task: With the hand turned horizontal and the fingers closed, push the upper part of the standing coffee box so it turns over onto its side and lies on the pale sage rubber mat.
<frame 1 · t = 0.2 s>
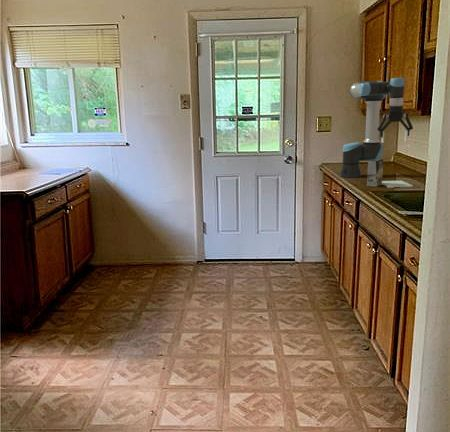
hand: (394, 142, 271), 27 cm above the countertop, tool pointing down, fingers open, 13 cm apart
coffee box: (374, 185, 286), on the countertop
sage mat: (395, 184, 285), on the countertop
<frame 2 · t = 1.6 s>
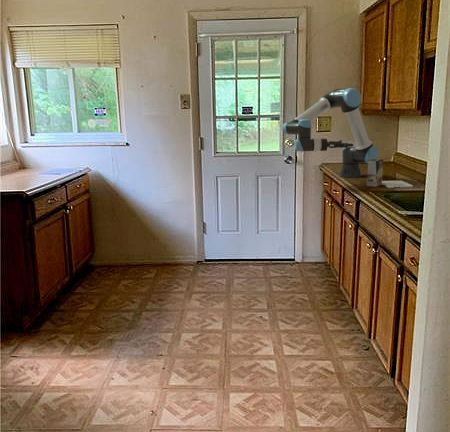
hand: (355, 143, 280), 26 cm above the countertop, tool horizontal, fingers open, 12 cm apart
nothing on the countertop moved.
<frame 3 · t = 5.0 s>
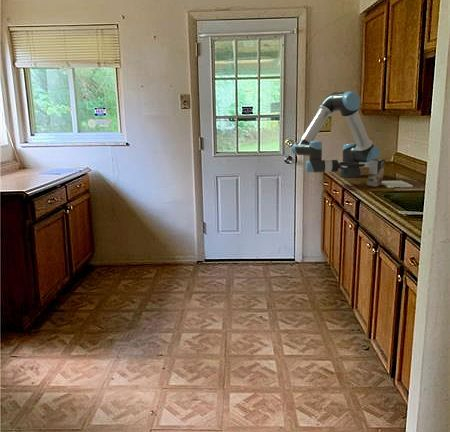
hand: (369, 164, 282), 13 cm above the countertop, tool horizontal, fingers closed
coffee box: (374, 185, 286), on the countertop, touching gripper
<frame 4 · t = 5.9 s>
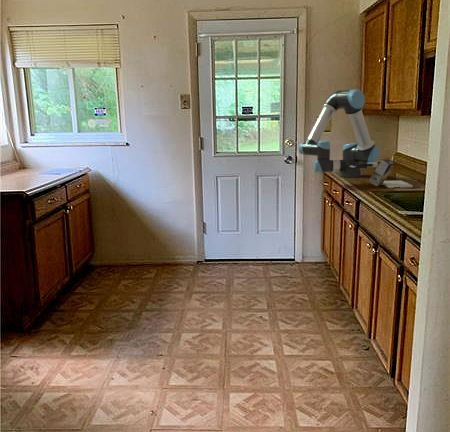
hand: (377, 164, 282), 13 cm above the countertop, tool horizontal, fingers closed
coffee box: (375, 183, 285), point 1 cm above the countertop
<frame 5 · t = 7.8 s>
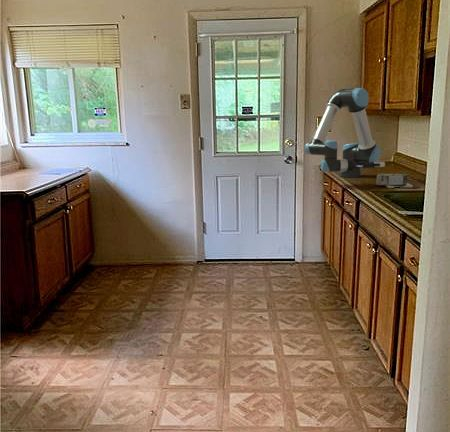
hand: (384, 164, 282), 13 cm above the countertop, tool horizontal, fingers closed
coffee box: (378, 178, 284), point 4 cm above the countertop, touching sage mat
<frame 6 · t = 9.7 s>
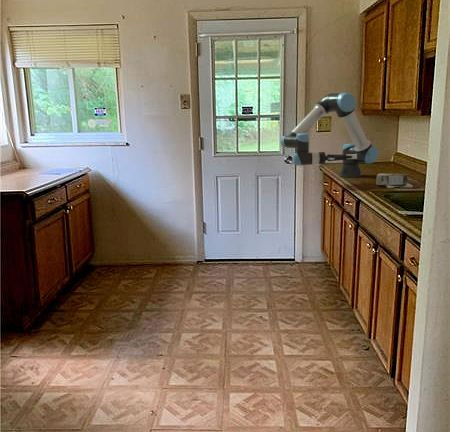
hand: (356, 156, 281), 18 cm above the countertop, tool horizontal, fingers closed
nothing on the countertop moved.
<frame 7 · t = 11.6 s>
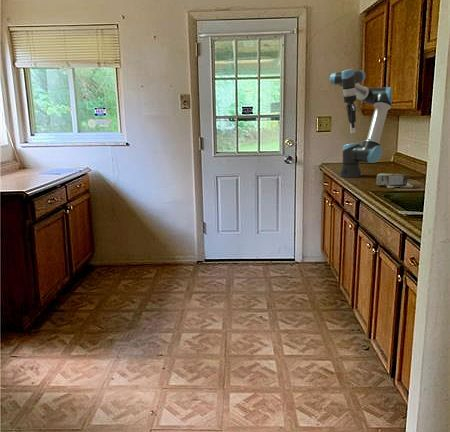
hand: (353, 132, 291), 32 cm above the countertop, tool pointing down, fingers closed
nothing on the countertop moved.
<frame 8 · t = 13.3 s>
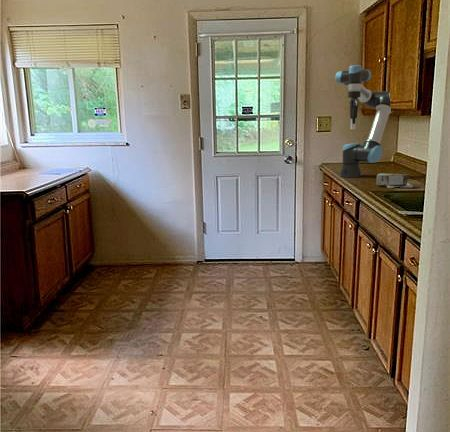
hand: (353, 129, 291), 34 cm above the countertop, tool pointing down, fingers closed
nothing on the countertop moved.
at the end: coffee box tilted 90°; coffee box touching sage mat; coffee box inside the target area (4.1 cm from its centre), point 4.2 cm above the countertop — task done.
